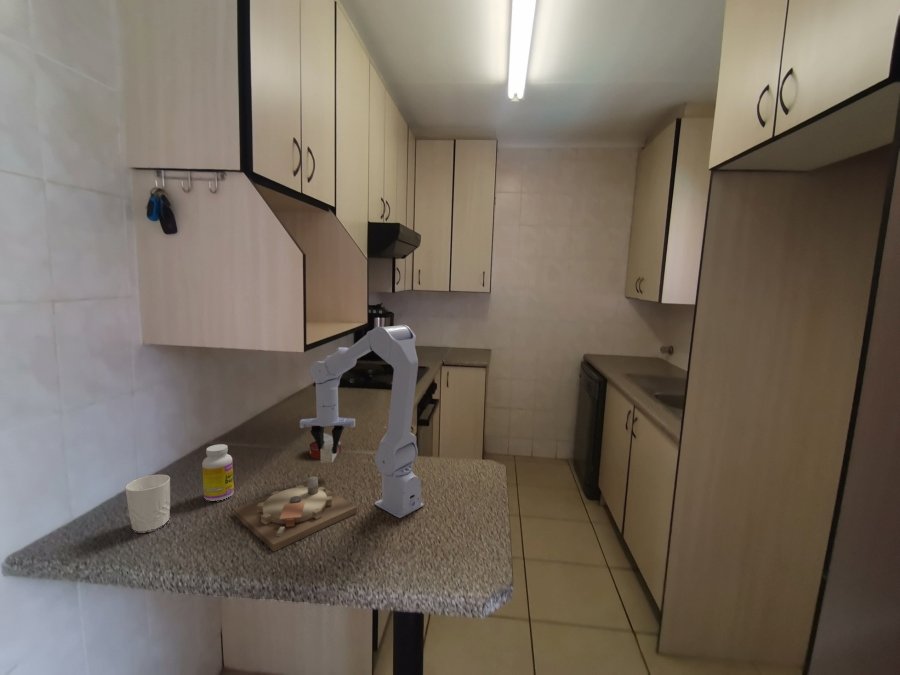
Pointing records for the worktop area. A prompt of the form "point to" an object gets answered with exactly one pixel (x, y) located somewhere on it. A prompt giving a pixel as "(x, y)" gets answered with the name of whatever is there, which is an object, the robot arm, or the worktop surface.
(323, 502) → the sprocket wheel
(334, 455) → the link block
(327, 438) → the canned food
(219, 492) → the supplement bottle
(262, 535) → the base board
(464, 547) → the worktop surface
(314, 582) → the worktop surface
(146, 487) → the white cup
